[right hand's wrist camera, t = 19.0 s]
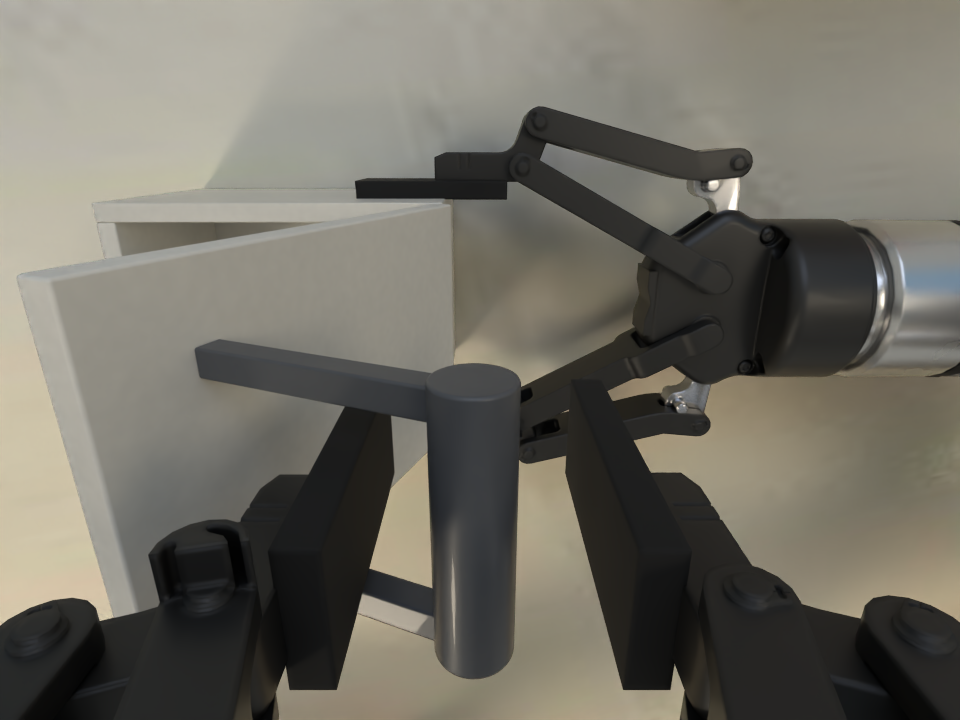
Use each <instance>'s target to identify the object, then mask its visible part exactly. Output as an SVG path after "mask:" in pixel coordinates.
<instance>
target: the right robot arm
mask: <svg viewBox="0 0 960 720" xmlns="http://www.w3.org/2000/svg"><path fill="white" fill-rule="evenodd" d="M394 473H395V470H394V454H393V437H392V421H391V415H385V414H380V413H375V412H370V411H365V410H360V409H355V408H350V407H344V409H343V411H342V413H341V414H340V416H339V418H338V420H337V422H336V424H335V426H334V428H333V429H332V431H331V433H330V435H329V437H328V439H327V441H326V443H325V444H324V446H323V448H322V450H321V452H320V454H319V456H318V457H317V459H316V461H315V463H314V465H313V467H312V469H311V471H310V472H309V474H279V475H278V476H277V477H275V478H274V479H273V480H271V481H270V482H269V483H267V484H266V485H264V486H263V487H262V488H260V490H259V491H258V493H257V494H256V496H255V497H254V499H253V500H252V502H251V503H250V507H249V508H247V510H246V511H245V513H244V514H243V516H242V517H241V521H240V522H235V521H231V520H227V519H218V520H206V521H202V522H197V523H193V524H189V525H187V526H185V527H183V528H180V529H178V530H176V531H173V532H172V533H170V534H169V535H167V536H166V537H165V538H163V539H162V540H160V541H159V542H158V543H157V544H156V545H155V546H154V548H153V549H152V550H151V552H150V553H149V554H148V557H149V561H150V565H151V569H152V573H153V577H154V581H155V585H156V589H157V593H158V597H159V601H160V602H159V605H158V607H155V608H152V609H148V610H145V611H142V612H137V613H133V614H129V615H124V616H120V617H116V618H111V619H107V620H103V621H99V617H98V614H97V611H96V608H95V607H94V606H93V605H92V604H91V603H90V602H88V601H87V600H82V599H76V598H67V599H59V600H52V601H49V602H46V603H43V604H40V605H37V606H34V607H31V608H29V609H27V610H25V611H23V612H21V613H20V614H18V615H16V616H14V617H12V618H10V619H8V620H7V621H6V622H4V623H3V624H2V625H1V626H0V720H279V711H278V703H277V697H276V690H277V687H278V684H279V682H280V679H281V677H282V674H283V671H284V669H285V666H286V670H287V676H288V682H289V689H290V690H337V687H338V683H339V679H340V676H341V672H342V668H343V664H344V661H345V657H346V653H347V649H348V646H349V642H350V638H351V634H352V631H353V627H354V623H355V620H356V616H357V612H358V608H359V605H360V601H361V597H362V593H363V590H364V586H365V582H366V578H367V575H368V571H369V567H370V563H371V560H372V556H373V552H374V548H375V545H376V541H377V537H378V533H379V530H380V526H381V522H382V518H383V515H384V511H385V507H386V503H387V500H388V496H389V492H390V488H391V485H392V481H393V477H394ZM565 473H566V477H567V481H568V485H569V488H570V492H571V496H572V500H573V503H574V507H575V511H576V515H577V518H578V522H579V526H580V530H581V533H582V537H583V541H584V545H585V548H586V552H587V556H588V560H589V563H590V567H591V571H592V575H593V578H594V582H595V586H596V590H597V593H598V597H599V601H600V605H601V608H602V612H603V616H604V620H605V623H606V627H607V631H608V634H609V638H610V642H611V646H612V649H613V653H614V657H615V661H616V664H617V668H618V672H619V676H620V679H621V683H622V687H623V690H670V689H671V682H672V676H673V670H674V663H675V666H676V669H677V671H678V674H679V676H680V679H681V682H682V684H683V687H684V689H685V691H684V697H683V703H682V709H681V715H680V720H960V622H958V621H957V620H956V619H955V618H953V617H952V616H950V615H948V614H946V613H944V612H942V611H940V610H938V609H937V608H935V607H933V606H931V605H928V604H925V603H922V602H919V601H916V600H913V599H910V598H905V597H897V596H889V595H888V596H882V597H877V598H873V599H872V600H871V601H870V602H868V603H867V604H866V605H865V607H864V611H863V614H862V617H861V619H859V618H855V617H851V616H846V615H842V614H837V613H833V612H829V611H824V610H820V609H816V608H813V607H810V606H806V605H803V604H801V601H800V600H799V598H798V597H797V595H796V594H795V592H794V591H793V589H792V588H791V587H790V586H788V585H787V584H786V583H785V582H783V581H782V580H781V579H780V578H779V577H777V576H775V575H773V574H771V573H769V572H767V571H765V570H763V569H761V568H758V567H754V566H752V565H751V563H750V562H749V560H748V559H747V557H746V556H745V554H744V553H743V551H742V550H741V548H740V547H739V545H738V544H737V542H736V541H735V539H734V538H733V536H732V534H731V533H730V531H729V530H728V528H727V527H726V525H725V524H724V522H723V521H722V520H720V516H719V515H718V513H717V512H716V510H715V509H714V507H713V506H711V503H710V501H709V500H708V498H707V497H706V495H705V494H704V492H703V490H702V489H701V487H700V486H698V485H697V484H696V483H694V482H693V481H691V480H690V479H689V478H687V477H686V476H685V475H683V474H682V473H651V472H650V471H649V469H648V467H647V465H646V463H645V461H644V459H643V457H642V456H641V454H640V452H639V450H638V448H637V446H636V444H635V443H634V441H633V439H632V437H631V435H630V433H629V431H628V429H627V428H626V426H625V424H624V422H623V420H622V418H621V416H620V414H619V413H618V411H617V409H616V407H615V405H614V403H613V401H612V399H611V398H610V396H609V394H608V392H607V390H606V388H605V386H604V384H603V383H602V381H601V379H571V387H570V404H569V421H568V437H567V454H566V470H565Z"/></svg>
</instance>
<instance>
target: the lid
mask: <svg viewBox="0 0 960 720" xmlns="http://www.w3.org/2000/svg"><path fill="white" fill-rule="evenodd" d="M17 283H18V286H19V290H20V293H21V296H22V300H23V303H24V307H25V310H26V314H27V317H28V321H29V324H30V328H31V331H32V335H33V338H34V342H35V345H36V349H37V352H38V356H39V359H40V363H41V366H42V369H43V373H44V376H45V380H46V383H47V387H48V390H49V394H50V397H51V401H52V404H53V408H54V411H55V415H56V418H57V422H58V425H59V429H60V432H61V436H62V439H63V443H64V446H65V449H66V453H67V456H68V460H69V463H70V467H71V470H72V474H73V477H74V481H75V484H76V488H77V491H78V495H79V498H80V502H81V505H82V509H83V512H84V516H85V519H86V522H87V526H88V529H89V533H90V536H91V540H92V543H93V547H94V550H95V554H96V557H97V561H98V564H99V568H100V571H101V575H102V578H103V582H104V585H105V589H106V592H107V596H108V599H109V602H110V606H111V609H112V613H113V616H114V618H116V617H120V616H124V615H129V614H133V613H137V612H142V611H145V610H148V609H152V608H155V607H158V605H159V602H160V601H159V597H158V593H157V589H156V585H155V581H154V577H153V573H152V569H151V565H150V561H149V557H148V554H149V553H150V552H151V550H152V549H153V548H154V546H155V545H156V544H157V543H158V542H159V541H160V540H162V539H163V538H165V537H166V536H167V535H169V534H170V533H172V532H173V531H176V530H178V529H180V528H183V527H185V526H187V525H189V524H193V523H197V522H202V521H206V520H218V519H227V520H231V521H235V522H240V521H241V517H242V516H243V514H244V513H245V511H246V510H247V508H249V507H250V503H251V502H252V500H253V499H254V497H255V496H256V494H257V493H258V491H259V490H260V488H262V487H263V486H264V485H266V484H267V483H269V482H270V481H271V480H273V479H274V478H275V477H277V476H278V475H279V474H309V472H310V471H311V469H312V467H313V465H314V463H315V461H316V459H317V457H318V456H319V454H320V452H321V450H322V448H323V446H324V444H325V443H326V441H327V439H328V437H329V435H330V433H331V431H332V429H333V428H334V426H335V424H336V422H337V420H338V418H339V416H340V414H341V413H342V411H343V409H344V407H350V408H355V409H360V410H365V411H370V412H375V413H380V414H385V415H391V421H392V437H393V454H394V470H395V473H394V477H393V481H392V485H391V487H392V486H393V485H394V484H395V483H396V482H397V481H398V480H399V479H400V478H401V477H403V476H404V475H405V474H406V473H407V472H408V471H409V470H410V469H411V468H412V467H413V466H414V465H415V464H416V463H417V462H418V461H419V460H420V459H421V458H422V457H423V456H424V455H425V454H426V453H427V452H428V478H429V505H430V532H431V560H432V587H433V589H432V588H429V587H426V586H423V585H420V584H416V583H413V582H410V581H407V580H404V579H401V578H397V577H394V576H391V575H388V574H385V573H382V572H378V571H375V570H372V569H369V571H368V575H367V578H366V582H365V586H364V590H363V593H362V597H361V601H360V605H359V608H358V612H357V614H360V615H363V616H366V617H369V618H372V619H374V620H377V621H380V622H383V623H386V624H389V625H391V626H394V627H397V628H400V629H403V630H406V631H408V632H411V633H414V634H417V635H420V636H423V637H425V638H428V639H431V640H434V641H435V652H436V656H437V658H438V660H439V661H440V663H441V664H442V666H443V667H444V668H445V669H446V670H448V671H449V672H451V673H452V674H454V675H456V676H459V677H462V678H466V679H482V678H486V677H490V676H492V675H494V674H496V673H498V672H499V671H500V670H502V669H503V668H504V667H505V666H506V665H507V663H508V662H509V660H510V659H511V657H512V654H513V650H514V626H515V589H516V551H517V514H518V477H519V439H520V402H521V382H520V379H519V377H518V376H517V375H516V374H515V373H514V372H512V371H511V370H509V369H506V368H503V367H500V366H495V365H490V364H479V363H468V364H458V365H454V361H453V305H452V248H451V206H450V205H449V204H428V205H422V206H416V207H410V208H404V209H398V210H393V211H387V212H381V213H375V214H369V215H363V216H357V217H351V218H345V219H340V220H334V221H328V222H322V223H316V224H310V225H304V226H298V227H292V228H286V229H281V230H275V231H269V232H263V233H257V234H251V235H245V236H239V237H233V238H228V239H222V240H216V241H210V242H204V243H198V244H192V245H186V246H180V247H175V248H169V249H163V250H157V251H151V252H145V253H139V254H133V255H127V256H121V257H116V258H110V259H104V260H98V261H92V262H86V263H80V264H74V265H68V266H63V267H57V268H51V269H45V270H39V271H33V272H27V273H22V274H20V275H18V276H17Z"/></svg>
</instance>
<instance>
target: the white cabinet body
mask: <svg viewBox="0 0 960 720" xmlns="http://www.w3.org/2000/svg"><path fill="white" fill-rule="evenodd" d="M428 204H449V205H450V206H451V248H452V305H453V361H454V356H455V303H454V242H453V199H356V189H196V190H188V191H181V192H173V193H165V194H157V195H150V196H142V197H134V198H127V199H119V200H111V201H103V202H96V203H92V207H93V211H94V216H95V220H96V222H98V223H97V228H98V232H99V236H100V241H101V245H102V249H103V254H104V258H105V259H110V258H116V257H121V256H127V255H133V254H139V253H145V252H151V251H157V250H163V249H169V248H175V247H180V246H186V245H192V244H198V243H204V242H210V241H216V240H222V239H228V238H233V237H239V236H245V235H251V234H257V233H263V232H269V231H275V230H281V229H286V228H292V227H298V226H304V225H310V224H316V223H322V222H328V221H334V220H340V219H345V218H351V217H357V216H363V215H369V214H375V213H381V212H387V211H393V210H398V209H404V208H410V207H416V206H422V205H428Z"/></svg>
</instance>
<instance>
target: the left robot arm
mask: <svg viewBox="0 0 960 720" xmlns="http://www.w3.org/2000/svg"><path fill="white" fill-rule="evenodd" d="M546 143H549V144H552V145H556V146H559V147H563V148H566V149H570V150H573V151H577V152H580V153H584V154H587V155H591V156H594V157H598V158H601V159H605V160H608V161H612V162H615V163H619V164H622V165H626V166H629V167H633V168H636V169H640V170H643V171H647V172H650V173H654V174H657V175H661V176H665V177H670V178H677V179H684V180H687V189H688V192H689V193H690V194H691V195H693V196H697V197H701V198H703V199H705V200H706V201H707V203H708V205H709V211H707V212H705V213H704V214H702V215H701V216H699V217H698V218H696V219H695V220H693V221H692V222H690V223H689V224H688V225H686V226H685V227H683V228H682V229H680V230H679V231H677V232H676V233H674V234H673V235H671V236H669V235H667V234H665V233H664V232H662V231H660V230H658V229H656V228H655V227H653V226H651V225H649V224H647V223H646V222H644V221H642V220H641V219H639V218H637V217H635V216H634V215H632V214H630V213H629V212H627V211H625V210H624V209H622V208H620V207H618V206H617V205H615V204H613V203H612V202H610V201H608V200H606V199H605V198H603V197H601V196H600V195H598V194H596V193H595V192H593V191H591V190H589V189H588V188H586V187H584V186H583V185H581V184H579V183H578V182H576V181H574V180H572V179H571V178H569V177H567V176H566V175H564V174H562V173H560V172H559V171H557V170H555V169H554V168H552V167H550V166H549V165H547V164H545V163H543V162H542V161H540V158H541V155H542V153H543V150H544V147H545V145H546ZM752 163H753V160H752V155H751V154H750V152H749V151H748V150H746V149H742V148H718V149H707V150H696V151H694V150H691V149H687V148H684V147H680V146H677V145H674V144H670V143H667V142H663V141H660V140H656V139H653V138H650V137H646V136H643V135H639V134H636V133H632V132H629V131H626V130H622V129H619V128H615V127H612V126H608V125H605V124H601V123H598V122H595V121H591V120H588V119H584V118H581V117H577V116H574V115H571V114H567V113H564V112H560V111H557V110H553V109H550V108H547V107H540V106H538V107H536V108H533V109H532V110H530V111H529V112H528V113H527V114H526V115H525V116H524V118H523V120H522V124H521V127H520V130H519V132H518V135H517V138H516V140H515V143H514V144H513V146H512V147H511V148H510V149H508V150H507V151H504V152H446V153H444V154H441V155H439V156H436V157H435V178H366V179H362V180H358V181H355V186H356V199H476V200H507V182H519V183H521V184H522V185H524V186H526V187H528V188H529V189H531V190H533V191H535V192H536V193H538V194H540V195H542V196H543V197H545V198H547V199H549V200H550V201H552V202H554V203H556V204H557V205H559V206H561V207H562V208H564V209H566V210H568V211H569V212H571V213H573V214H575V215H576V216H578V217H580V218H582V219H583V220H585V221H587V222H589V223H590V224H592V225H594V226H595V227H597V228H599V229H601V230H602V231H604V232H606V233H608V234H609V235H611V236H613V237H615V238H616V239H618V240H620V241H622V242H623V243H625V244H627V245H629V246H630V247H632V248H634V249H635V250H637V251H639V252H641V253H642V254H644V255H646V256H645V258H644V260H643V262H642V263H638V271H637V283H638V288H639V297H638V299H637V302H636V305H635V307H634V312H633V322H632V324H633V325H634V326H635V327H634V328H632V329H630V330H628V331H626V332H624V333H622V334H620V335H619V336H618V337H616V339H615V340H614V341H613V342H612V343H610V344H608V345H606V346H604V347H602V348H600V349H598V350H596V351H594V352H592V353H590V354H588V355H586V356H584V357H582V358H580V359H577V360H575V361H573V362H571V363H569V364H567V365H565V366H563V367H561V368H559V369H557V370H555V371H553V372H551V373H549V374H547V375H545V376H543V377H541V378H539V379H537V380H535V381H533V382H531V383H529V384H527V385H525V386H523V387H521V402H520V439H519V460H520V461H521V462H523V463H526V464H530V463H535V462H539V461H544V460H548V459H553V458H557V457H562V456H566V454H567V437H568V421H569V411H568V412H564V411H566V410H568V409H569V404H570V387H571V379H601V381H602V383H603V384H604V386H605V388H606V390H607V391H608V390H610V389H612V388H614V387H617V386H619V385H621V384H623V383H625V382H627V381H629V380H631V379H634V378H646V377H648V376H651V375H653V374H655V373H657V372H659V371H661V370H663V369H665V368H667V367H670V366H673V367H674V368H676V369H677V370H678V371H680V372H681V373H683V374H684V375H685V379H684V380H683V381H682V382H681V383H680V384H677V385H673V386H665V387H664V388H663V390H662V393H651V394H643V395H637V396H633V397H629V398H624V399H620V400H616V401H613V403H614V405H615V407H616V409H617V411H618V413H619V414H620V416H621V418H622V420H623V422H624V424H625V426H626V428H627V429H628V431H629V433H630V435H631V437H632V439H633V440H637V439H641V438H646V437H650V436H654V435H659V434H663V433H664V434H676V435H687V436H701V435H704V434H705V433H706V432H707V431H708V430H709V428H710V423H711V422H710V420H709V418H708V417H707V416H706V415H705V414H704V410H705V406H706V402H707V398H708V394H709V390H710V386H711V384H714V383H717V382H719V381H721V380H723V379H726V378H728V377H731V376H736V375H745V376H759V377H824V376H830V375H833V374H834V375H838V376H842V377H908V376H925V377H940V376H957V377H960V221H957V220H851V221H848V222H844V221H840V220H836V219H752V218H750V217H748V216H747V215H745V214H744V213H742V212H740V211H738V208H739V193H740V178H741V177H742V176H744V175H745V174H747V173H748V172H749V170H750V169H751V167H752ZM562 412H564V413H562Z"/></svg>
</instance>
